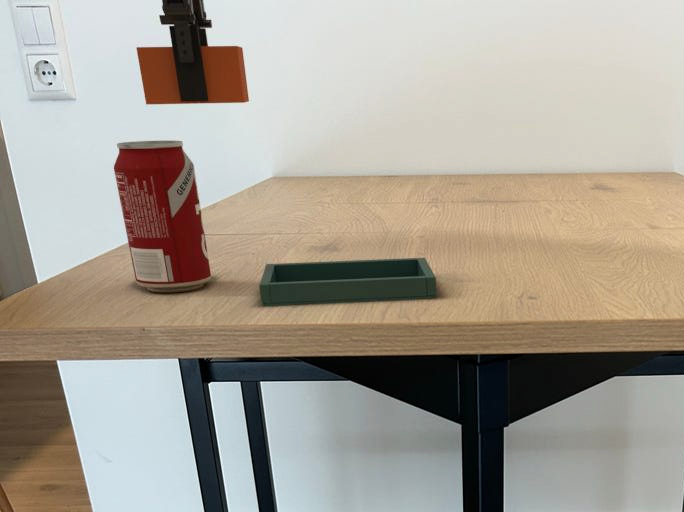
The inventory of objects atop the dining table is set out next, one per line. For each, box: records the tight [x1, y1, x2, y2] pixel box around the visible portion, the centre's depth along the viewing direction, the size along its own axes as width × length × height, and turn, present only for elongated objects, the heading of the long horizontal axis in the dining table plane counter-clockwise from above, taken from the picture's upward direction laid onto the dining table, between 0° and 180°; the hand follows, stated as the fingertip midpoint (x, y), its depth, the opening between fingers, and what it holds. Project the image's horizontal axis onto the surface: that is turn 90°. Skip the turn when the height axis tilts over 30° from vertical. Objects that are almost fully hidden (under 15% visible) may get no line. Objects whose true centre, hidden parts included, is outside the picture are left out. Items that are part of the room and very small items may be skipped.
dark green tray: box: [258, 257, 437, 307], centre depth 82 cm, size 15×10×2 cm
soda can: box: [113, 140, 212, 294], centre depth 84 cm, size 7×7×12 cm
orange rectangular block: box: [136, 45, 250, 105], centre depth 98 cm, size 10×6×5 cm, turn 97°
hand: (198, 99), depth 99 cm, fingers closed on orange rectangular block, 5 cm apart
